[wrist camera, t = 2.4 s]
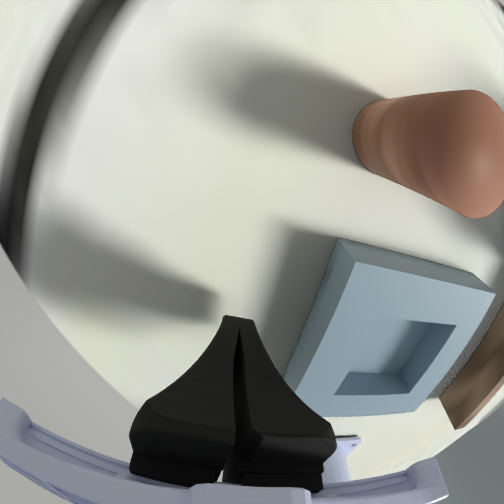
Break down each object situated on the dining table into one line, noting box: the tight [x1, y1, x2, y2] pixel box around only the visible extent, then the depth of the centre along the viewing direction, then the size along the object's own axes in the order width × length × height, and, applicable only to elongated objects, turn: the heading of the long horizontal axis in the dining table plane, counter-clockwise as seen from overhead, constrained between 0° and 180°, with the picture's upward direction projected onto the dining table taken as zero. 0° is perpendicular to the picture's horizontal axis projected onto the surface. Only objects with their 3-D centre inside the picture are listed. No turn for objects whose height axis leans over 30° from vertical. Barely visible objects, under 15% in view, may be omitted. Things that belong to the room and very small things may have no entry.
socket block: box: [282, 238, 496, 417], centre depth 14 cm, size 10×10×2 cm
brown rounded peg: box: [352, 90, 504, 219], centre depth 8 cm, size 4×4×6 cm
